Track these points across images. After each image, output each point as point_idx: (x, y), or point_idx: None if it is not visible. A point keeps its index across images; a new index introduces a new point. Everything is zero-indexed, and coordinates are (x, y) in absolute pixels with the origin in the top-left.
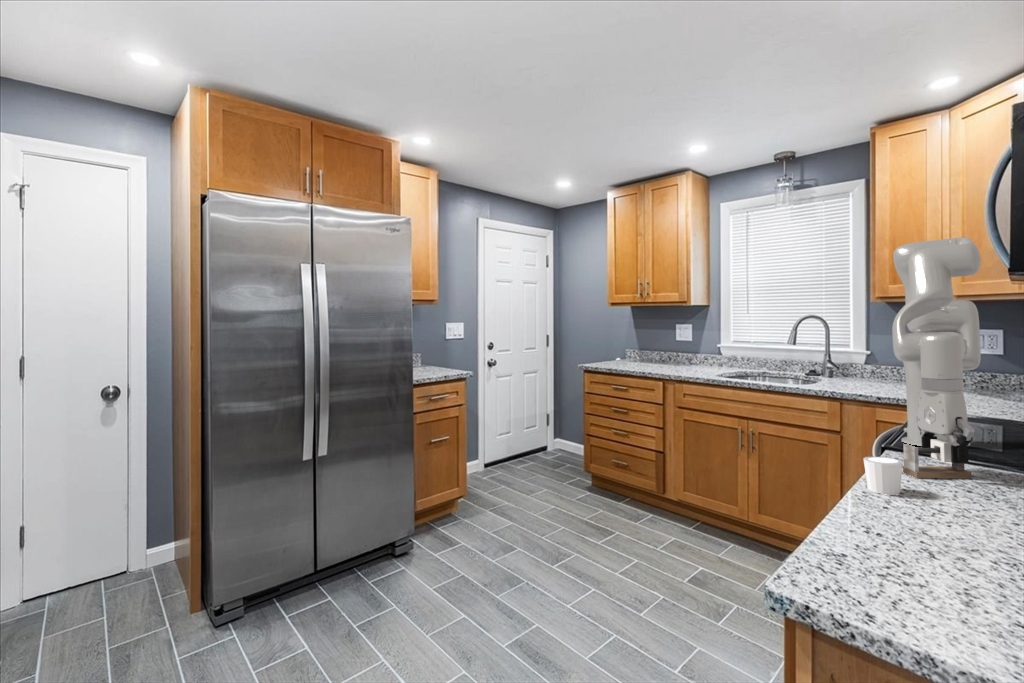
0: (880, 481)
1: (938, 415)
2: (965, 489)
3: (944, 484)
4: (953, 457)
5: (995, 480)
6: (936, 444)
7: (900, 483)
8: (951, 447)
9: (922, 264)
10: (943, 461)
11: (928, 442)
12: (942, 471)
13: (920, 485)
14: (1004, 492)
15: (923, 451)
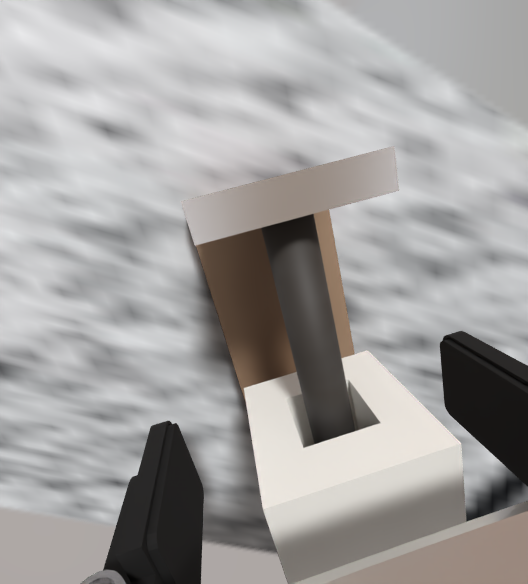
0: None
1: None
2: (33, 365)
3: (103, 303)
4: (147, 455)
5: (251, 501)
6: (355, 443)
7: None
8: (139, 526)
9: None
10: (253, 386)
11: (505, 410)
12: (242, 347)
13: (23, 170)
14: (48, 487)
15: (279, 302)
